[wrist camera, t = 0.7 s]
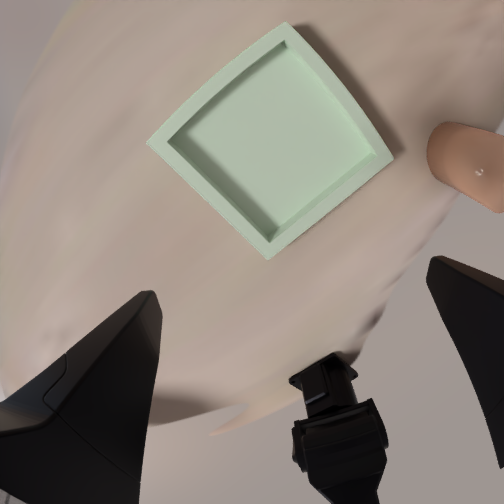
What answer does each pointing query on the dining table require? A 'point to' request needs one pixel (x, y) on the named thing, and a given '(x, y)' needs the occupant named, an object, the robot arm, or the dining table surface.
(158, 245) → the dining table surface
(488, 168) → the pink rounded cylinder
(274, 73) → the tray
